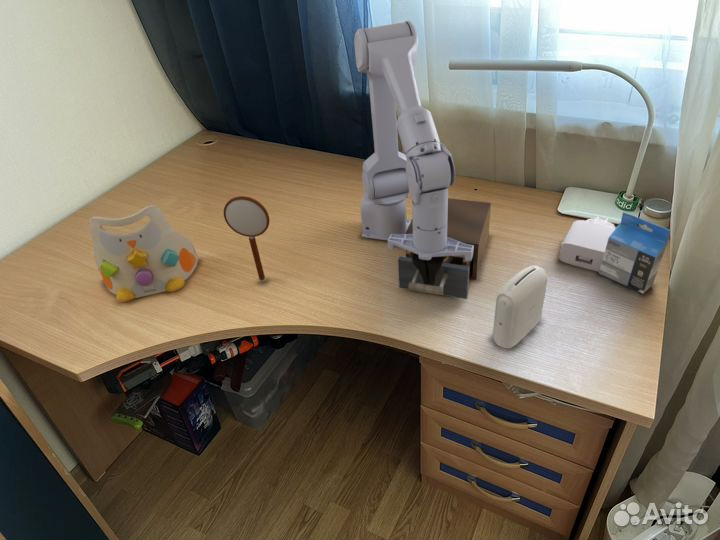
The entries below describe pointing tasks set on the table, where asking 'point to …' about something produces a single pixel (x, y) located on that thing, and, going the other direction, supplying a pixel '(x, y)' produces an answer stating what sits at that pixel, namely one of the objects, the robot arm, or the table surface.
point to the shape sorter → (142, 255)
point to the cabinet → (467, 227)
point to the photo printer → (519, 306)
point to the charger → (586, 243)
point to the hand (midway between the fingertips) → (429, 283)
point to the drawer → (437, 277)
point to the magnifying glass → (248, 223)
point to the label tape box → (634, 253)
